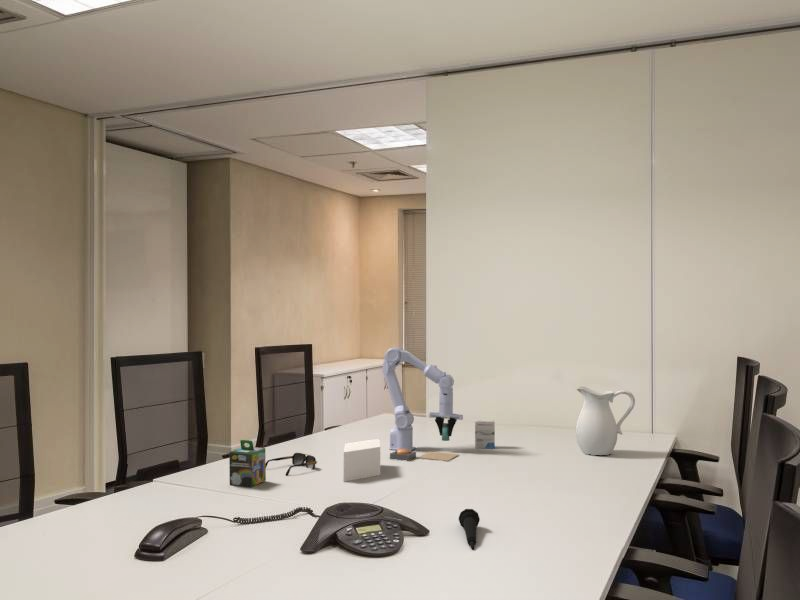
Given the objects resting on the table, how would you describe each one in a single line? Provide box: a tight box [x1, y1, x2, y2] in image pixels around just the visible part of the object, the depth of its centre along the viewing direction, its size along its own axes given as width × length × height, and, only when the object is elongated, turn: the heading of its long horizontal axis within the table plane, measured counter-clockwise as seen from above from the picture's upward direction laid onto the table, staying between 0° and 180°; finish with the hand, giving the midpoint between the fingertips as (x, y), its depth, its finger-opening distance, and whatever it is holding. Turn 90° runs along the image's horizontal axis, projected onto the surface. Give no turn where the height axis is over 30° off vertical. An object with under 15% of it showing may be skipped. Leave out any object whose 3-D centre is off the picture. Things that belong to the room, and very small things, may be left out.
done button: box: [396, 449, 409, 455], centre depth 273 cm, size 5×5×2 cm
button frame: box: [389, 450, 417, 462], centre depth 273 cm, size 8×8×2 cm
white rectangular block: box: [342, 438, 381, 482], centre depth 247 cm, size 14×29×10 cm, turn 157°
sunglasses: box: [265, 452, 318, 477], centre depth 251 cm, size 14×15×5 cm
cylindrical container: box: [441, 422, 450, 442], centre depth 287 cm, size 3×3×7 cm
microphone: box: [458, 508, 481, 551], centre depth 176 cm, size 6×6×20 cm
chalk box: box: [228, 439, 267, 488], centre depth 230 cm, size 9×9×15 cm
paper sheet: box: [417, 451, 460, 462], centre depth 276 cm, size 13×13×1 cm
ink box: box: [474, 419, 496, 449], centre depth 297 cm, size 8×5×12 cm, turn 84°
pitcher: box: [575, 386, 636, 456], centre depth 285 cm, size 24×17×28 cm
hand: (445, 435), depth 287 cm, fingers closed on cylindrical container, 3 cm apart
